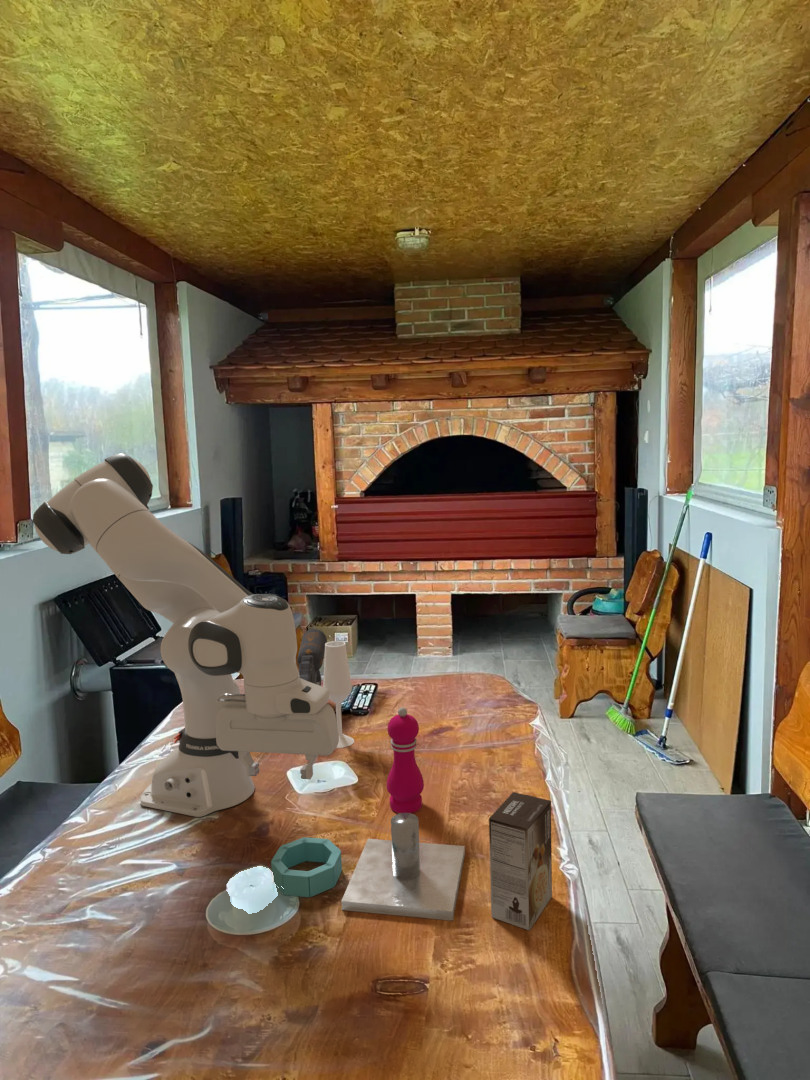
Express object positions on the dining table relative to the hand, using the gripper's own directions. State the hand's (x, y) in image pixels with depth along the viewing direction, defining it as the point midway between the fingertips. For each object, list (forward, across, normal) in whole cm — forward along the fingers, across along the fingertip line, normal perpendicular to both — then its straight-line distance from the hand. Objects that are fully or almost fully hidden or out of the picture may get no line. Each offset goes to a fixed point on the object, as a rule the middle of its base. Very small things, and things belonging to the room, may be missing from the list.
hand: (280, 776), depth 116 cm
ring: (+17, +4, -1) cm, 17 cm away
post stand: (+17, +20, +1) cm, 26 cm away
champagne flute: (+17, -7, +50) cm, 53 cm away
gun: (+17, -20, +64) cm, 69 cm away
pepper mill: (+17, +15, +24) cm, 33 cm away
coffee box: (+18, +39, -2) cm, 43 cm away
